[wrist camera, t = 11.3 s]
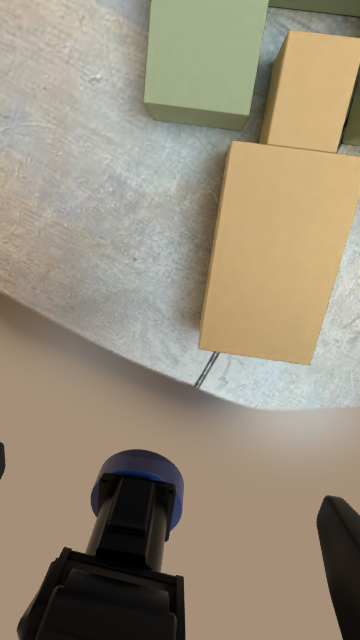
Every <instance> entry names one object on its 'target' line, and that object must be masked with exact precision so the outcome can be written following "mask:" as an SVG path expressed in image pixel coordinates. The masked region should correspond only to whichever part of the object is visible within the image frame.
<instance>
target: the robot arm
mask: <svg viewBox="0 0 360 640" xmlns="http://www.w3.org/2000/svg"><path fill="white" fill-rule="evenodd" d="M4 470H5V453H4V445H3V443H1V442H0V479H1V477H2V475H3V473H4ZM106 479H107V480H106ZM169 489H172V490H169ZM176 489H177V488H176V485H175V484H173V483H168V482H162V481H156V480H149V479H143V478H137V477H131V476H124V475H118V474H112V473H102V474H101V477H100V479H99V494H98V512H97V520H96V523H95V526H94V529H93V532H92V535H91V538H90V541H89V543H88V546H87V549H86V552H85V554H84V553H80V552H77V551H72V549H71V548H67V547H64V548H63V550H62V552H61V554H60V556H59V558H56V560H55V561H53V562H52V563H51V565H50V567H49V569H48V572H47V574H46V576H45V579H44V581H43V583H42V585H41V587H40V589H39V591H38V593H37V594H36V596H35V597H34V599H33V600H32V602H31V603H30V605H29V607H28V608H27V610H26V611H25V613H24V614H23V616H22V617H21V619H20V622H19V624H18V627H17V634H18V638H19V640H185V607H184V577H183V576H179V575H176V576H173V575H168V574H164V573H161V565H162V557H163V549H164V542H166V541H167V540H168V539H169V533H170V527H171V521H172V515H173V509H174V503H175V497H176ZM317 530H318V535H319V540H320V546H321V551H322V556H323V561H324V567H325V572H326V577H327V582H328V587H329V591H330V595H331V599H332V603H333V606H334V610H335V613H336V616H337V620H338V624H339V627H340V631H341V634H342V638H343V640H360V515H359V514H358V513H357V512H356V511H355V510H354V509H353V508H352V507H351V506H350V505H349V504H348V503H347V502H346V501H345V500H344V499H342V498H340V497H336V496H329V495H327V496H325V498H324V499H323V502H322V505H321V508H320V510H319V513H318V515H317Z"/></svg>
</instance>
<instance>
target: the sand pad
mask: <svg viewBox="0 0 360 640" xmlns="http://www.w3.org/2000/svg"><path fill="white" fill-rule="evenodd" d="M359 64H360V38H355V37H346V36H338V35H329V34H321V33H312V32H304V31H296V30H289V32H288V34H287V36H286V38H285V40H284V42H283V44H282V46H281V48H280V50H279V53H278V55H277V57H276V59H275V61H274V64H273V69H272V75H271V80H270V85H269V91H268V96H267V102H266V107H265V112H264V118H263V123H262V128H261V134H260V139H259V144H258V143H250V142H242V141H234V140H233V141H232V142H231V144H230V147H229V149H228V152H227V157H226V163H225V170H224V176H223V182H222V189H221V195H220V201H219V207H218V214H217V220H216V226H215V233H214V239H213V245H212V252H211V258H210V264H209V271H208V277H207V283H206V290H205V296H204V302H203V309H202V315H201V321H200V328H199V344H198V348H199V349H201V350H208V351H215V352H222V353H229V354H235V355H242V356H249V357H256V358H262V359H269V360H276V361H283V362H289V363H296V364H303V365H310V363H311V360H312V357H313V353H314V350H315V347H316V343H317V340H318V337H319V333H320V330H321V327H322V323H323V320H324V316H325V313H326V310H327V306H328V303H329V300H330V296H331V293H332V290H333V286H334V283H335V279H336V276H337V273H338V269H339V266H340V263H341V259H342V256H343V253H344V249H345V246H346V243H347V239H348V236H349V232H350V229H351V226H352V222H353V219H354V216H355V212H356V209H357V206H358V202H359V199H360V157H359V156H351V155H343V154H335V153H336V151H337V148H338V144H339V141H340V137H341V133H342V129H343V125H344V122H345V118H346V114H347V110H348V106H349V103H350V99H351V95H352V91H353V87H354V83H355V80H356V76H357V72H358V68H359Z"/></svg>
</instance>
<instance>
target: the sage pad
mask: <svg viewBox="0 0 360 640" xmlns="http://www.w3.org/2000/svg"><path fill="white" fill-rule="evenodd" d="M268 6H274V7H282V8H291V9H299V10H308V11H316V12H325V13H333V14H342V15H350V16H359V17H360V0H151V7H150V20H149V33H148V47H147V60H146V73H145V86H144V100H143V102H144V104H145V105H146V107H147V109H148V110H149V112H150V113H151V115H152V117H153V118H154V119H155V120H162V121H170V122H178V123H185V124H193V125H201V126H209V127H217V128H224V129H232V130H240V131H241V130H242V129H243V127H244V124H245V122H246V120H247V118H248V116H249V113H250V107H251V101H252V96H253V90H254V84H255V78H256V73H257V67H258V61H259V55H260V50H261V44H262V38H263V32H264V27H265V21H266V15H267V9H268ZM342 143H343V144H350V145H358V146H360V77H359V80H358V84H357V88H356V92H355V95H354V99H353V103H352V107H351V110H350V114H349V118H348V122H347V125H346V129H345V133H344V137H343V140H342Z"/></svg>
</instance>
